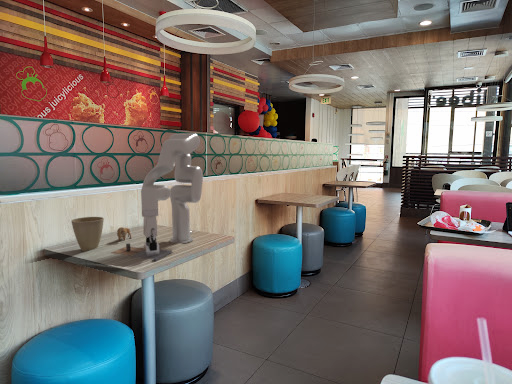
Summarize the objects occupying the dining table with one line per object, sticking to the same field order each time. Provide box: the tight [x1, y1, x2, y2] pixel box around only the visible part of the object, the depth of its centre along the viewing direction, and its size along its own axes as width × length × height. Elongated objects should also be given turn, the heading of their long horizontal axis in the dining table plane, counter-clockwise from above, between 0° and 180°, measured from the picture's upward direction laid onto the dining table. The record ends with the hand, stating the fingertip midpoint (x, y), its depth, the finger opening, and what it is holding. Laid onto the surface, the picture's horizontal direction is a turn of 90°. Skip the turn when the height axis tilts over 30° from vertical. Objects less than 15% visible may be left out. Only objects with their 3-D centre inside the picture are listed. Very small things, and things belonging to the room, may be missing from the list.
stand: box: [111, 242, 144, 256], centre depth 172 cm, size 12×12×4 cm
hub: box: [130, 249, 173, 262], centre depth 167 cm, size 14×14×5 cm
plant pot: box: [71, 216, 105, 252], centre depth 178 cm, size 15×15×16 cm
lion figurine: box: [116, 226, 132, 241], centre depth 195 cm, size 15×5×9 cm, turn 5°
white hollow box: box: [143, 242, 160, 256], centre depth 167 cm, size 6×6×5 cm
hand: (151, 248), depth 167 cm, fingers open, 8 cm apart
